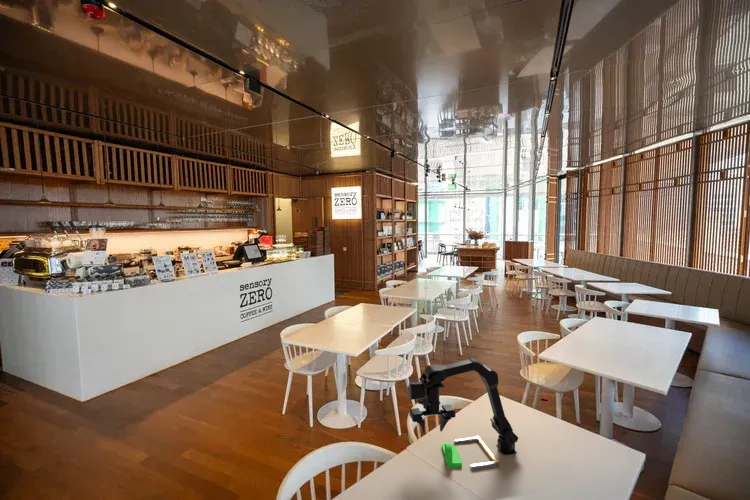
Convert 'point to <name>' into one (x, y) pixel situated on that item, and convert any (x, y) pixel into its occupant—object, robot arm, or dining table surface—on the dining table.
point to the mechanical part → (451, 455)
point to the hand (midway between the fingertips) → (432, 432)
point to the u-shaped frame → (485, 448)
